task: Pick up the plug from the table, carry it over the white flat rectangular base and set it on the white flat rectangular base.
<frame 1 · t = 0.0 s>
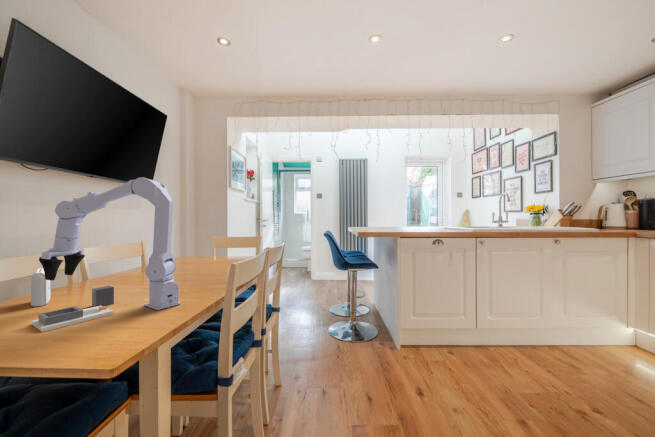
hand: (59, 277, 92), 11 cm above the table, tool pointing down, fingers open, 7 cm apart
white flat rectangular base: (74, 318, 83), on the table
plug: (103, 305, 96), on the table
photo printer: (41, 303, 98), on the table
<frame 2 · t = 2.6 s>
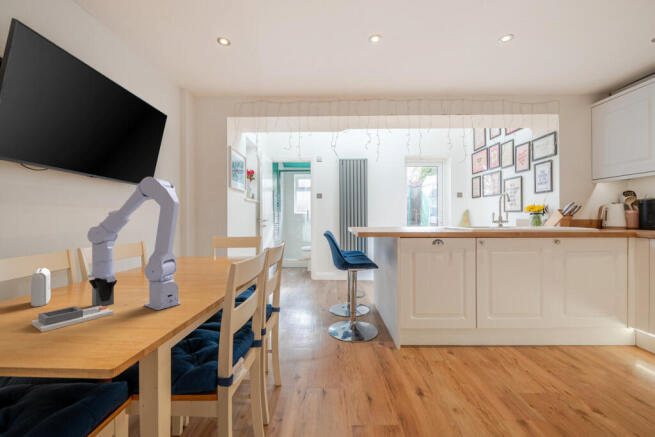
hand: (103, 299, 96), 2 cm above the table, tool pointing down, fingers closed on plug, 4 cm apart
plug: (103, 304, 96), on the table, touching gripper
everything else where it was.
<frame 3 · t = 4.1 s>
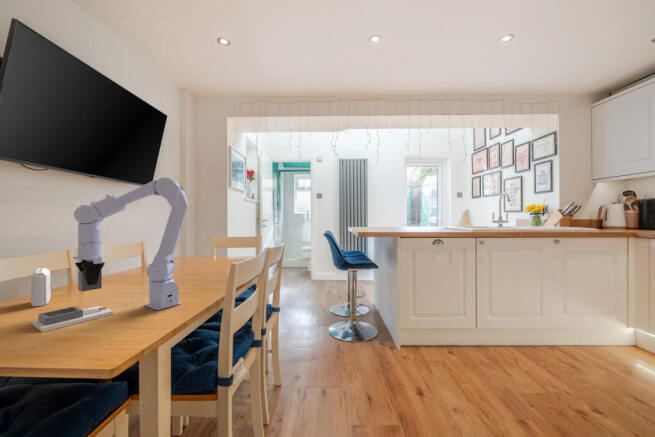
hand: (89, 283, 90), 9 cm above the table, tool pointing down, fingers closed on plug, 4 cm apart
plug: (90, 289, 90), point 7 cm above the table, touching gripper
everything else where it was.
when the fingers open (4 cm above the table, at t = 6.0 s): plug drops 1 cm, resting on white flat rectangular base.
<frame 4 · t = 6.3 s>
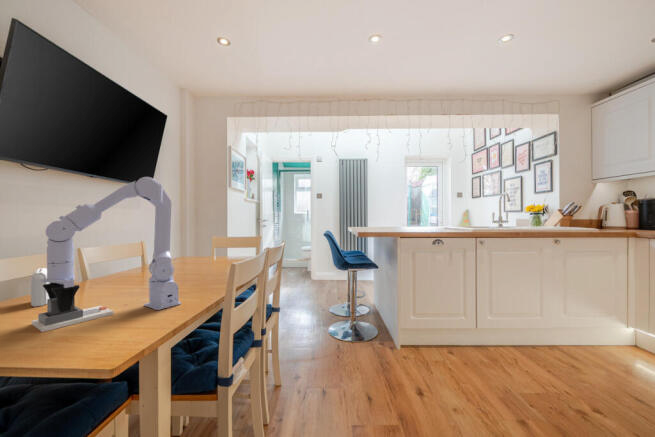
hand: (61, 308, 80), 4 cm above the table, tool pointing down, fingers open, 6 cm apart
plug: (61, 318, 80), point 1 cm above the table, touching white flat rectangular base
everything else where it was.
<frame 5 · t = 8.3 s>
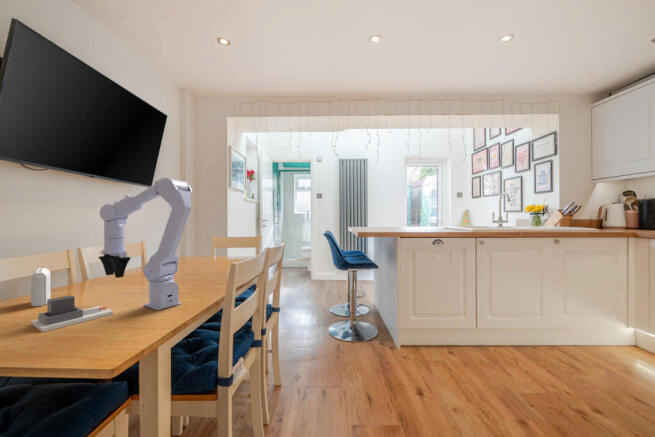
hand: (114, 276, 99), 9 cm above the table, tool pointing down, fingers open, 7 cm apart
nothing on the table moved.
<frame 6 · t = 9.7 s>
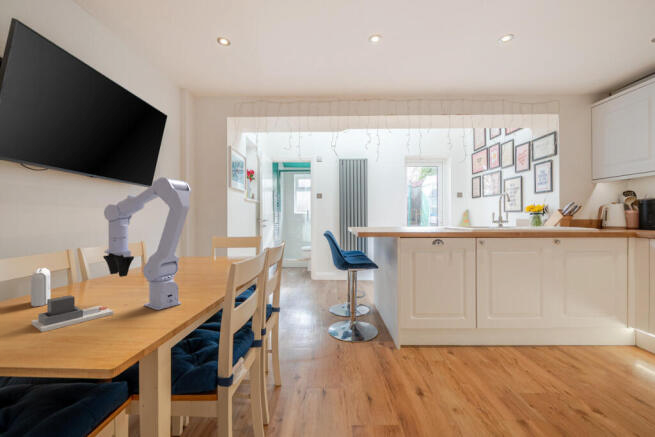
hand: (118, 275, 101), 9 cm above the table, tool pointing down, fingers open, 7 cm apart
nothing on the table moved.
at the end: plug 0.0 cm from the target spot on the white flat rectangular base, point 1.0 cm above the white flat rectangular base's base; plug tilted 0°; the gripper is holding nothing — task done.
